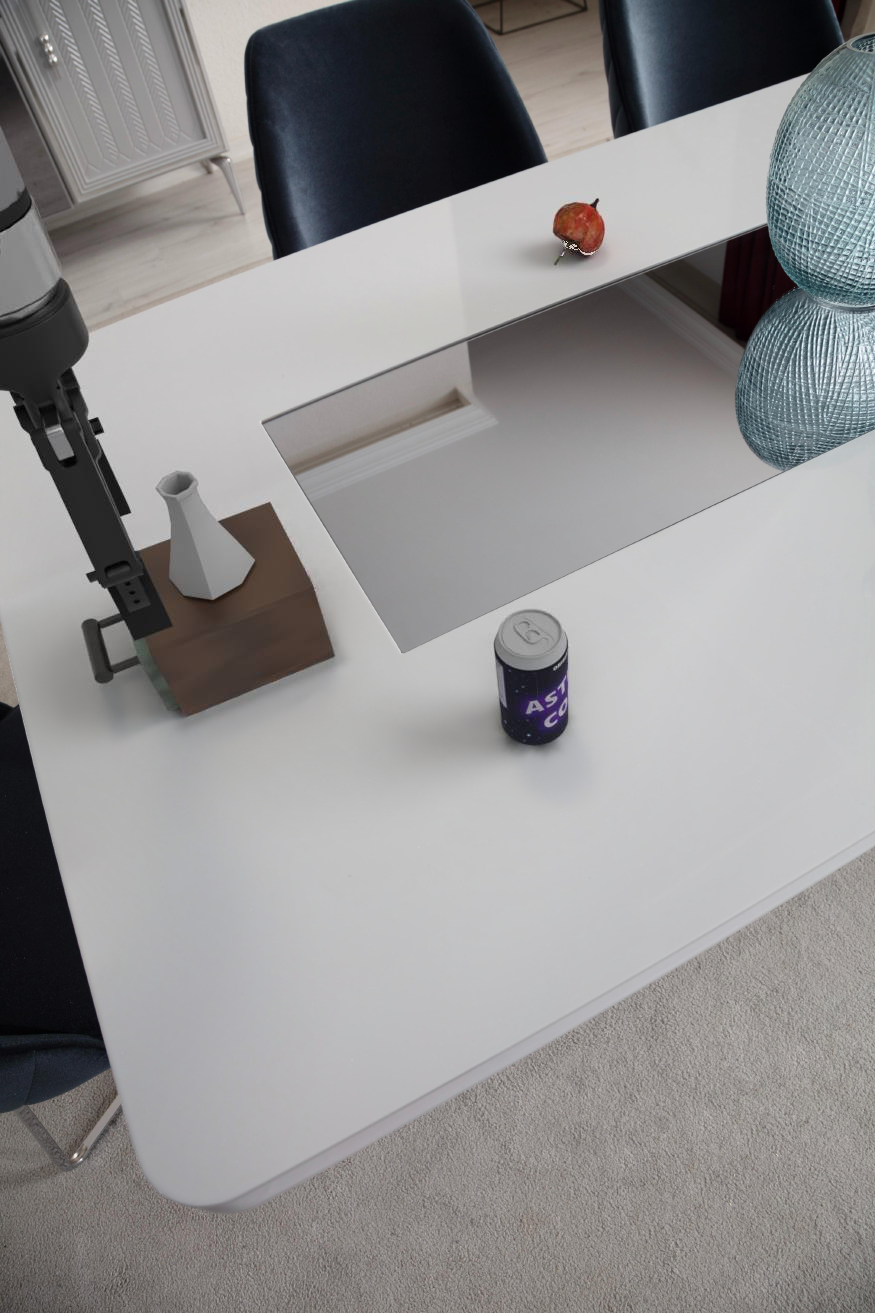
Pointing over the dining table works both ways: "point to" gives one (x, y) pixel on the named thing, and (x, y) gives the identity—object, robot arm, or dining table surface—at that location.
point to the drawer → (105, 669)
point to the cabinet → (239, 619)
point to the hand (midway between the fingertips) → (132, 569)
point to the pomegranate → (579, 227)
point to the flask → (200, 542)
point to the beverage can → (532, 676)
